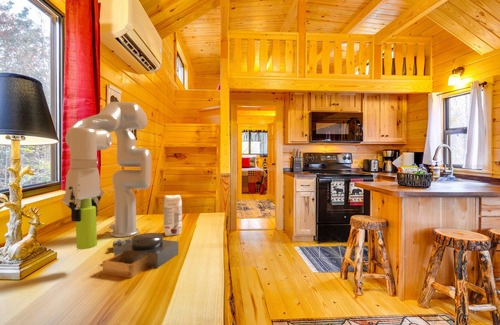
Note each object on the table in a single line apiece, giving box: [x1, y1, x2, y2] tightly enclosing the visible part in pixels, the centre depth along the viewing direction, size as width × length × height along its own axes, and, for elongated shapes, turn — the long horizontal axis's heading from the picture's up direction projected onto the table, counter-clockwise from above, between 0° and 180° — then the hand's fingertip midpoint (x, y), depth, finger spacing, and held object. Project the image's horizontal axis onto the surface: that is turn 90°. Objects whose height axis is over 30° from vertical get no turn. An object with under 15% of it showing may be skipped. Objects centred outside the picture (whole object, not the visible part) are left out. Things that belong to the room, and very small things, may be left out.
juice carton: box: [163, 194, 183, 237], centre depth 134 cm, size 8×9×19 cm
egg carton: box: [112, 237, 132, 253], centre depth 113 cm, size 11×8×4 cm
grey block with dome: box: [102, 232, 179, 279], centre depth 98 cm, size 18×23×8 cm
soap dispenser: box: [75, 197, 98, 250], centre depth 90 cm, size 6×7×20 cm
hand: (84, 218), depth 91 cm, fingers closed on soap dispenser, 5 cm apart
